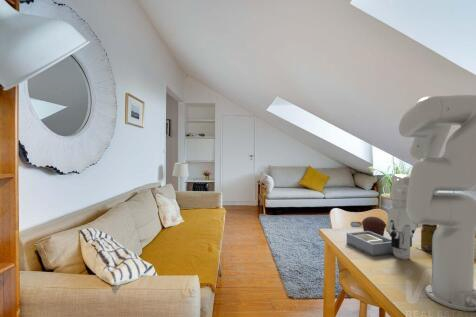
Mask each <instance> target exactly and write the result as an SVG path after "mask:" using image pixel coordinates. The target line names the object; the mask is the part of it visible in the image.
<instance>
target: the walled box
mask: <svg viewBox="0 0 476 317" xmlns="http://www.w3.org/2000/svg"><path fill="white" fill-rule="evenodd" d="M346 244H347V245H349V246H351V247H353V248H354V249H357V250H358V251H360V252H363V253H365V254H368V255H369V256H371V257H376V256H384V255H391V254H393V247H392V246H391V238H389V237H386V236H384V235H383V236H381V235H378V234H376V233H373V232H370V231H364V230H363V231H354V232H346ZM393 255H394V254H393Z"/></svg>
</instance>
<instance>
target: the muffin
mask: <svg viewBox="0 0 476 317" xmlns="http://www.w3.org/2000/svg"><path fill="white" fill-rule="evenodd" d="M361 225H362V229H363V231H370V232H373V233H376V234H378V235H381V236H383V237H384V234H385V231H386V228H387V224H386V222H385V221H384V220H383V219H381V218H380V217H376V216H367V217H365V218H364V219H363V220H362V221H361Z"/></svg>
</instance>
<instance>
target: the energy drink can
mask: <svg viewBox="0 0 476 317" xmlns="http://www.w3.org/2000/svg"><path fill="white" fill-rule="evenodd" d="M394 230H395V229H394ZM410 230H411V227H410V225H408V223H407V224H406V225H405V226H404V227H403V229H402V232H400V233H399V236H398V239H399V248H398V249H397V248H395V247H393V255H394V258H396V259H399V260H409V258H411V247H410ZM394 234H396V232H394Z"/></svg>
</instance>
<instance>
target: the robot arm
mask: <svg viewBox="0 0 476 317" xmlns="http://www.w3.org/2000/svg"><path fill="white" fill-rule="evenodd" d="M452 126H459V127H458V128H457V129H456V130H455V131H454V132H453V133H452V134H451V135H450V136H449V138H448V139H447V137H448V135H449V133H450V130H451V128H452ZM398 132H399V134H400V136H402V137H404V138H414V139H413V141H412V145H411V146H410V148H409V154H410V156H411V157H412V158H414V159H415V160H416V162H414V164H413V166H412V167H411V171H410V174H405V173H395V174H393V175H392V176H391V206H389V210H388V214H387V226H386V227H385V231H386V232H387V233H388V235H389V237H391V238H390V239H391V246H392V247H395V248H397V249H398V248H399V239H398V236H399V233H400V232H402V229H403V227H404V226H405V225H406V224H407V223H408V225H410V227H411V230H410V248H411V247H413V237H414V234H415V233H416V231H417V229H418V226H417V224H419V225H423V224H428V225H437V229H436V230H435V232H434V234H433V238H432V254H431V284H427V285H426V286H425V287H424V288H425V289H424V290H425V293H426V295H427V296H428V297H429V298H430V299H432V301H435V302H436V303H438V304H439V305H440V304H441V305H443V306H445V307H448V308H451V309H455V310H460V311H463V312H464V311H465V312H475V311H476V289H474V285H475V284H474V282H475V281H474V280H475V275H474V274H475V240H476V239H475V238H476V199H475V198H473V197H472V196H470V195H468V194H465V193H461V192H464V191H465V192H466V191H471V190H474V189H475V188H476V94H460V95H459V94H457V95H456V94H455V95H434V96H433V95H432V96H426V97H423V98H421V99H419V100H418V101H417V102H416V103H414V105H412V106H411V107H410V108H409V109H408V110H407V111H406V112H405V113H404V114H403V115H402V117H401V119H400V120H399V125H398ZM446 140H447V141H446ZM445 142H446V143H445ZM444 145H445V148H444V152H443V155H442V156H441V157H440V153H441V151H442V149H443V147H444ZM442 191H445V192H442ZM446 191H447V192H446ZM451 191H452V192H451ZM459 192H460V193H459ZM394 229H395V230H394ZM394 232H396V234H394Z"/></svg>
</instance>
